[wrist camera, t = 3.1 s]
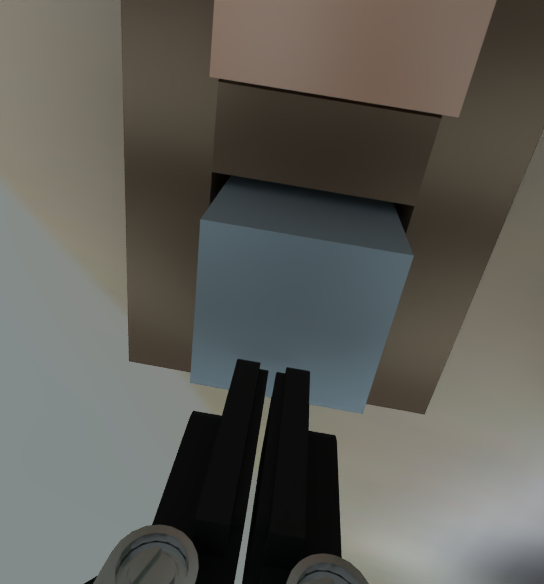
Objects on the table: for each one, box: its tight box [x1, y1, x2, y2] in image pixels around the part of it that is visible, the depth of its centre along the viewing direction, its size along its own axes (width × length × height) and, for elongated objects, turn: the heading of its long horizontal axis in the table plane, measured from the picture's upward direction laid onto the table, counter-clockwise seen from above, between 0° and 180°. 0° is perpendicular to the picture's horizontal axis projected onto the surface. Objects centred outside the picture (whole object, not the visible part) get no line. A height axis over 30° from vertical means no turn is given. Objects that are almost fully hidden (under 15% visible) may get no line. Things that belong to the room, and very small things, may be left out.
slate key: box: [190, 175, 414, 414], centre depth 15 cm, size 6×6×5 cm
